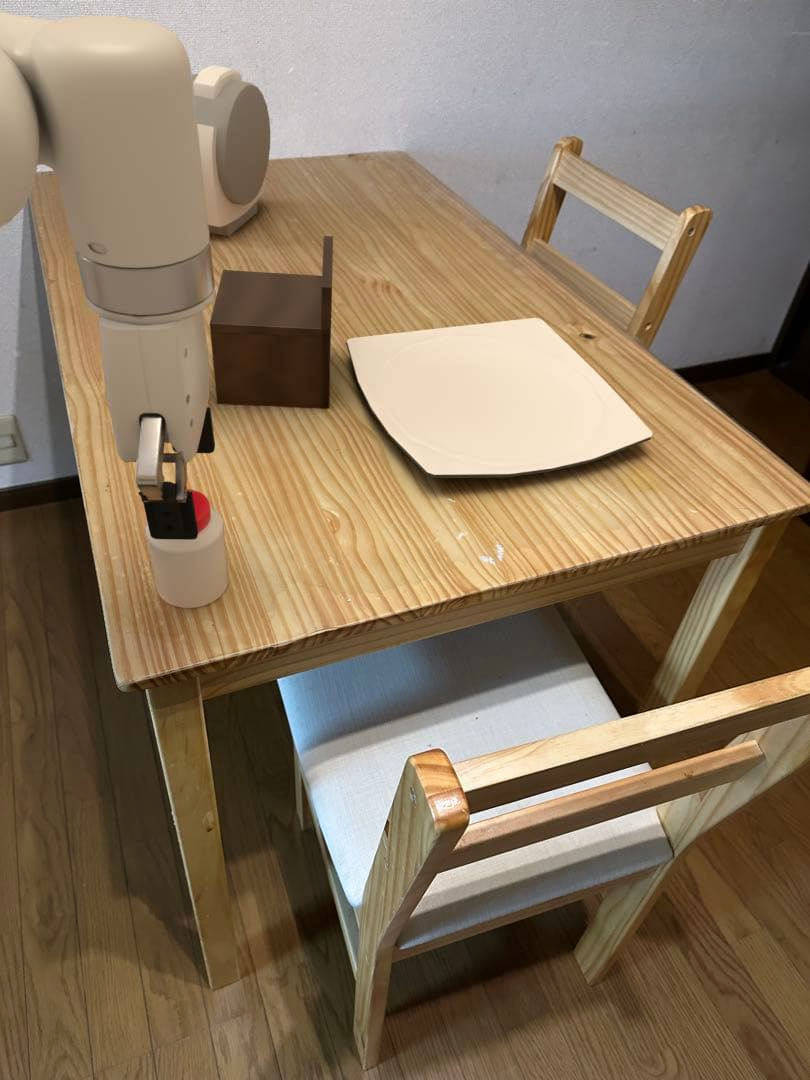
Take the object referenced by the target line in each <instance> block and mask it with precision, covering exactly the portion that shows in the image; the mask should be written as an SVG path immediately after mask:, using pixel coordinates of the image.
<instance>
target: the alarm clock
mask: <svg viewBox="0 0 810 1080" xmlns="http://www.w3.org/2000/svg"><path fill="white" fill-rule="evenodd" d="M192 80H193V89H194V98H195V107H196V117H197V126H198V135H199V144H200V154H201V163H202V172H203V182H204V191H205V200H206V209H207V218H208V227H209V234H215V235H220V236H225V237H230V236H231V235H232V234H233V233H235V232H236V231H237V230H239V229H240V227H241V226H243V225H244V224H245V223H246V222H248V221H249V220H251V218H252V217H254V216H255V215H256V214H257V213H258V201H259V200H260V198H261V197H262V195H263V194H264V193H265V191H266V180H267V178H266V177H267V170H268V165H269V160H270V151H271V125H270V124H271V122H270V115H269V110H268V105H267V103H266V99H265V97H264V94H263V93H262V91H261V90H260V89H259V87H258V86H256V85H255V84H253V83H251V82H248V81H243V76H242V73H241V72H240V71H238V70H236V69H234V68H231V67H225V66H218V65H214V64H213V65H211V66H208V67H205V68H204V69H202V70H200V71H199V72H198V73H193V74H192Z"/></svg>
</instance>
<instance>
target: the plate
mask: <svg viewBox="0 0 810 1080" xmlns="http://www.w3.org/2000/svg"><path fill="white" fill-rule="evenodd" d="M345 346H346V348H347V351H348V355H349V358H350V362H351V366H352V368H353V372H354V377H355V379H356V382H357V386H358V387H359V389H360V392H361V394H362V396H363V397H364V399H365V401H366V402H365V403H366V404H367V406H368V408H369V410H370V411H371V413H372V414H373V416H374V417H375V419H376V420H377V421H378V423H379V425H380V426H381V427H382V429H383V430H384V432H385V433H386V434H387V436H388V437H389V438H390V439H391V440H392V442H394V444H395V445H396V446H397V447H398V448H399V449H400V450H401V451H402V452H403V453H404V454H405V455H406V456H407V457H408V458H409V459H410V460H411V461H412V463H414V464H415V466H417V467H418V468H419V470H421V472H422V473H424V475H425V476H426V477H430V478H433V479H467V478H468V479H472V478H474V479H475V478H477V479H479V478H481V479H482V478H483V479H484V478H485V479H488V478H489V479H492V478H495V479H496V478H512V477H519V476H520V477H521V476H527V475H533V474H540V473H541V474H543V473H549V472H554V471H558V470H563V469H566V468H567V469H568V468H571V467H576V466H580V465H585V464H589V463H593V462H596V461H598V460H601V459H604V458H605V457H608V456H611V455H613V454H616V453H620V452H622V451H625V450H628V449H629V448H632V447H635V446H637V445H641V444H642V443H645V442H648V441H650V440H651V439H652V436H653V434H654V433H653V431H652V430H651V429H650V427H648V426H647V425H646V424H645V422H644V421H643V420H642V419H641V418H640V417H639V415H638V414H637V413H636V412H634V411H633V409H632V408H631V407H630V406H629V404H627V402H626V401H624V399H623V398H622V397H621V396H620V395H619V394H618V393H617V392H616V391H615V390H614V389H613V388H612V387H611V386H610V384H609V383H608V382H607V381H606V380H605V379H604V378H603V377H602V376H601V375H600V374H599V373H598V372H597V371H596V370H595V369H594V368H593V367H592V366H591V365H590V364H589V363H588V362H587V361H586V360H585V359H584V358H583V357H582V356H580V354H578V353H577V351H576V350H575V349H573V348H572V347H571V346H570V345H569V344H568V343H567V342H566V340H564V339H563V338H562V337H561V336H560V335H559V334H558V333H557V332H556V331H554V330H553V329H552V327H551V326H549V324H548V323H546V322H545V321H544V320H543V319H542V318H538V317H531V318H530V317H529V318H520V319H511V320H503V321H493V322H485V323H484V322H483V323H476V324H467V325H458V326H457V325H455V326H447V327H440V328H438V327H437V328H429V329H420V330H412V331H404V332H403V331H402V332H394V333H386V334H376V335H367V336H358V337H357V336H356V337H349V338H348V339H347V340H346V342H345Z"/></svg>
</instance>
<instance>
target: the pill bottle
mask: <svg viewBox="0 0 810 1080" xmlns="http://www.w3.org/2000/svg"><path fill="white" fill-rule="evenodd" d="M187 491H189V492H192V494H193V500H194V506H195V513H196V519H197V525H198V536H197V538H196V539H193V540H184V539H154V538H152V537H151V535H150V531H149V527H148V522H147V521H146V522H145V527H144V534H145V540H146V545H147V550H148V554H149V560H150V565H151V569H152V570H151V571H152V574H153V580H154V585H155V590H156V592H157V594H158V596H159V597H160V599H162V601H164V602H165V603H166V604H169V605H171V606H173V607H177V608H180V609H181V608H182V609H195V608H200V607H204V606H207V605H209V604H211V603H213V602H216V600H218V599H219V598H220V597H222V595H223V594H224V593H225V592H226V590H227V588H228V586H229V581H230V575H229V566H228V556H227V555H228V554H227V547H226V536H225V535H226V534H225V526H224V520H223V517H222V516H221V514H220V512H219V511H218V510H217V509H216V508H214V507H213V506H212V505H211V504H210V501H209V499H208V497H207V496H206V495H205V494H203V493H202V492H200V491H198V490H195V489H191V488H187Z"/></svg>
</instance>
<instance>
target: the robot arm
mask: <svg viewBox="0 0 810 1080" xmlns="http://www.w3.org/2000/svg"><path fill="white" fill-rule="evenodd" d="M190 61H191V60H190V58H189V54H188V51H187V49H186V47H185V45H184V43H183V42H182V41H181V39H180V38H179V37H178V35H177V34H175V33H174V32H173V31H172V30H171V29H169V27H166V26H164V25H162V24H160V23H157V22H155V21H152V20H147V19H145V18H138V17H131V16H122V15H109V14H108V15H107V14H106V15H103V14H101V15H100V14H98V15H97V14H95V15H94V14H93V15H79V16H77V15H76V16H70V17H64V18H60V19H49V18H41V17H35V16H28V15H20V14H15V13H10V12H9V13H8V12H2V11H0V228H1V229H2V227H4V226H6V225H7V224H9V223H10V222H11V221H12V220H13V219H14V218H15V217H16V216H17V215H18V214H19V213H20V212H21V211H22V210H23V208H24V207H25V205H26V204H27V202H28V201H29V198H30V196H31V193H32V192H33V191H32V190H33V186H34V184H35V179H36V176H37V170H38V166H40V165H43V166H47V167H48V168H50V169H51V170H52V171H53V172H54V174H55V176H56V178H57V183H58V186H59V190H60V195H61V199H62V203H63V208H64V213H65V216H66V217H65V218H66V221H67V225H68V229H69V234H70V237H71V242H72V245H73V250H74V254H75V258H76V263H77V266H78V271H79V276H80V280H81V284H82V288H83V292H84V297H85V301H86V304H87V306H88V308H90V310H91V311H92V312H94V313H95V314H97V315H99V317H98V325H99V326H98V330H99V331H98V332H99V345H100V355H101V356H100V357H101V365H102V373H103V378H104V384H105V391H106V397H107V402H108V408H109V413H110V419H111V425H112V431H113V435H114V436H113V437H114V441H115V445H116V451H117V454H118V456H119V458H120V460H121V461H122V462H123V463H127V464H128V463H136V472H135V482H136V487H137V488H138V490H139V491H138V495H139V496H140V500H141V502H142V504H143V508H144V513H145V517H146V522H148V527H149V531H150V535H151V537H152V538H154V539H184V540H193V539H196V538H197V536H198V525H197V519H196V513H195V506H194V500H193V494H192V492H189V491H187V489H188V463H189V462H191V461H193V459H194V458H195V457H196V455H197V454H212V453H214V452H215V448H216V443H215V435H214V434H215V433H214V427H213V419H212V418H213V417H212V410H211V407H209V406H208V404H209V399H210V392H211V370H210V369H211V366H210V357H209V349H208V347H209V346H208V341H207V339H208V338H207V333H206V325H205V318H204V313H203V311H205V310H206V309H207V308H208V307H209V306H210V305H211V304H212V303H213V302H214V300H215V299H216V295H217V292H216V284H215V276H214V274H215V273H214V266H213V256H212V248H211V237H210V232H209V227H208V218H207V209H206V200H205V191H204V182H203V172H202V163H201V154H200V144H199V135H198V126H197V117H196V107H195V98H194V89H193V80H192V67H191V62H190ZM165 444H171V447H172V450H173V451H174V452H164V451H165ZM164 464H174V468H175V469H174V470H175V471H174V472H175V473H174V475H175V476H174V479H175V480H174V481H175V483H174V482H172V481H168V480H167V481H165V476H164V472H163V465H164Z"/></svg>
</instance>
